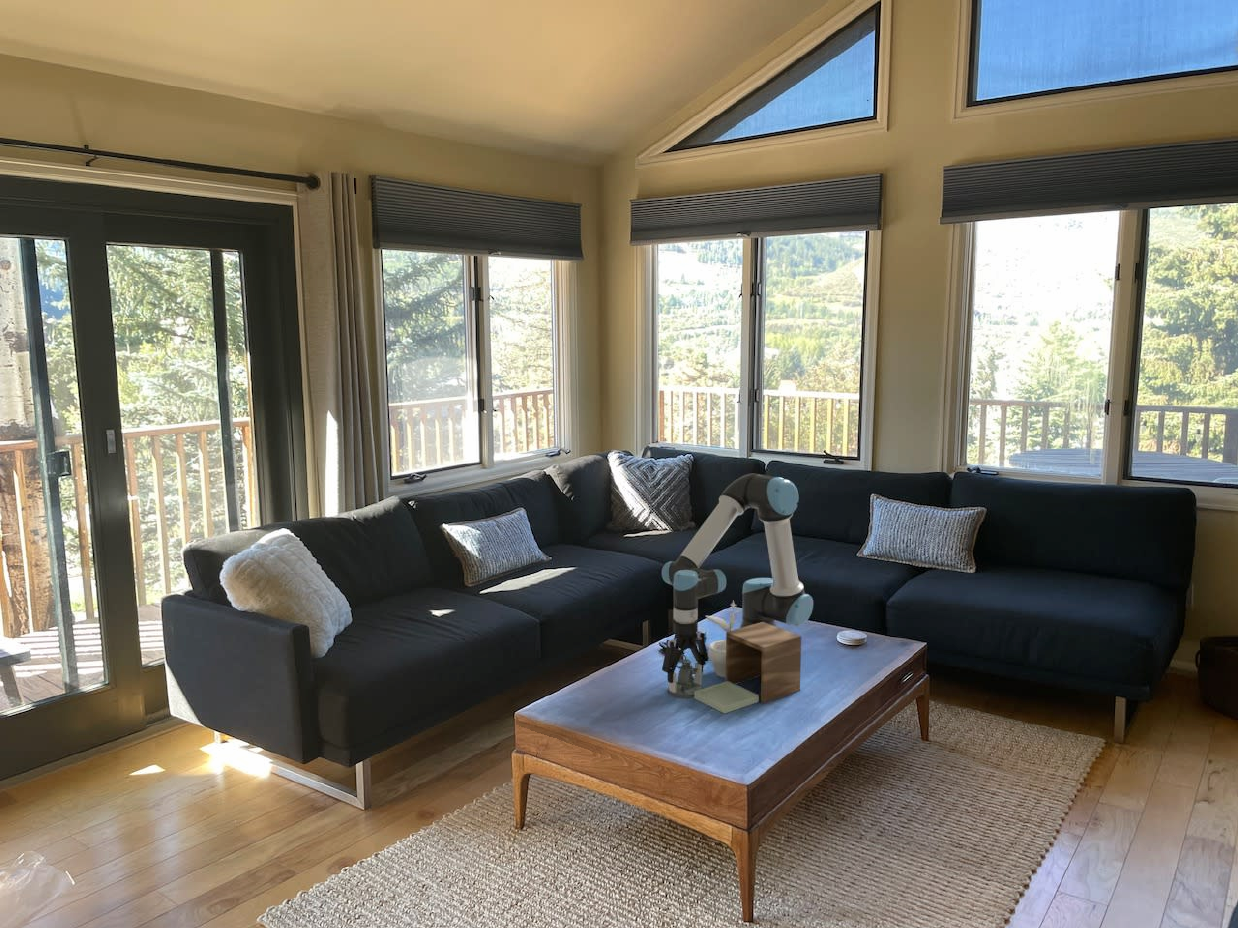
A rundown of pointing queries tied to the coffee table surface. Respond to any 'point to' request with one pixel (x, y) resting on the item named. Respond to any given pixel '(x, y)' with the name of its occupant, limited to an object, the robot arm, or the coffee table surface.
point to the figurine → (686, 680)
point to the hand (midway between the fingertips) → (685, 687)
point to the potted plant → (720, 644)
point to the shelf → (764, 659)
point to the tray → (726, 697)
